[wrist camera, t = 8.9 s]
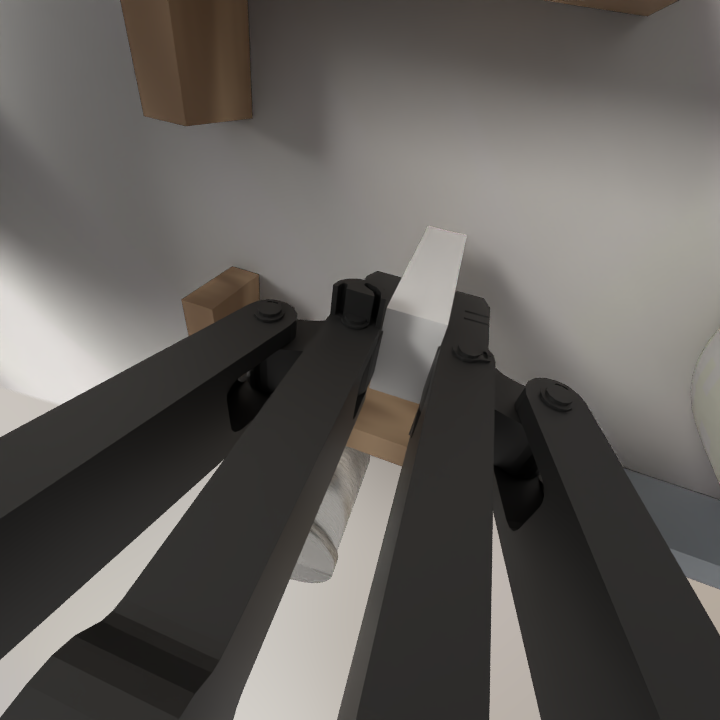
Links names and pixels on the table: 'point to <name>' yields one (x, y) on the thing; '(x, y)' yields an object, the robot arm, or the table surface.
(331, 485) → the sugar tin
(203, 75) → the wooden u-shaped bracket
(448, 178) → the table surface
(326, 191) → the table surface
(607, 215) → the table surface
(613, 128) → the table surface
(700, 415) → the teacup
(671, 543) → the dock
